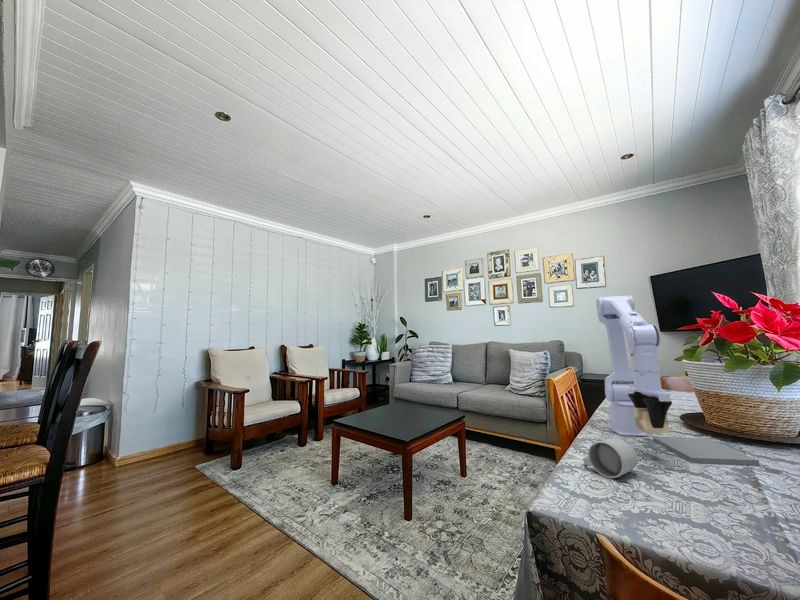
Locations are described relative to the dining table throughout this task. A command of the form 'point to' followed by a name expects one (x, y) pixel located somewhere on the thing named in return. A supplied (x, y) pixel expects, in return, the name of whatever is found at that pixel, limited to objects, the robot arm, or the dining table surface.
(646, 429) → the maple block
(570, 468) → the dining table surface
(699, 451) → the slate board
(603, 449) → the ceramic mug
